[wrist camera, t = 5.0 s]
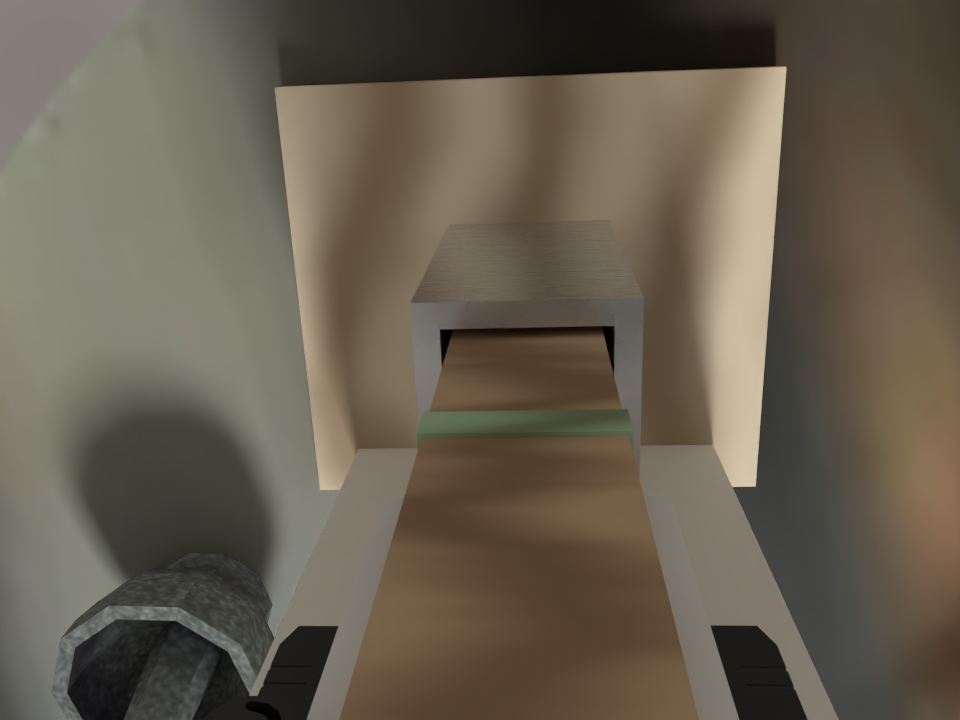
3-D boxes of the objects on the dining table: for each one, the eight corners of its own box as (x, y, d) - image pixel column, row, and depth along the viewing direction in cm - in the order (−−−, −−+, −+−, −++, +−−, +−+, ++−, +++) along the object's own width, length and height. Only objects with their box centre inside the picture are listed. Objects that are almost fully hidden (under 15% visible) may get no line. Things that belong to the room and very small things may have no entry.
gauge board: (713, 432, 38) (1130, 1311, 12) (711, 468, 39) (1103, 1387, 12) (357, 436, 39) (-17, 1249, 13) (360, 472, 40) (10, 1319, 13)
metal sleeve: (609, 219, 36) (643, 297, 24) (607, 370, 38) (638, 507, 26) (448, 224, 36) (409, 303, 25) (456, 373, 38) (424, 508, 27)
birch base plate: (776, 66, 35) (786, 66, 33) (747, 471, 41) (755, 486, 39) (284, 86, 36) (274, 87, 35) (327, 475, 42) (320, 490, 41)
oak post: (591, 271, 31) (738, 826, 9) (591, 389, 33) (715, 1118, 10) (465, 274, 32) (297, 818, 9) (470, 391, 33) (339, 1102, 11)
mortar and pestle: (140, 497, 43) (1, 655, 32) (322, 551, 43) (247, 726, 32) (106, 672, 47) (-30, 868, 35) (273, 720, 47) (192, 930, 36)
